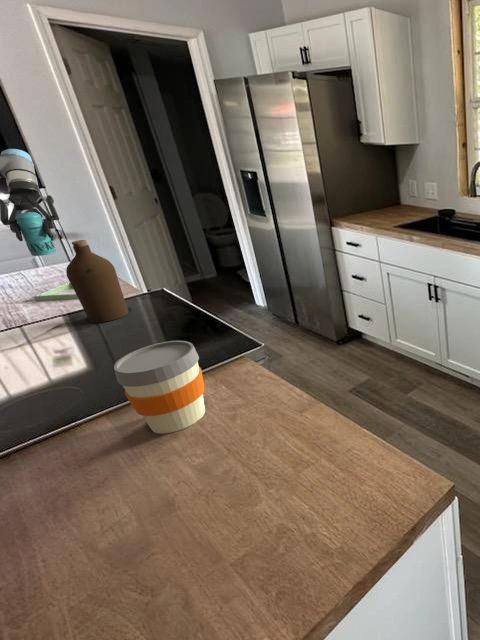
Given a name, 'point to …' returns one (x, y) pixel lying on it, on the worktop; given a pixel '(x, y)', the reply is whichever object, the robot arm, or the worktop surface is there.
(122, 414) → the worktop surface
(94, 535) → the worktop surface
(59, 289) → the back pad
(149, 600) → the worktop surface
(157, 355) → the reusable coffee cup
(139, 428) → the worktop surface
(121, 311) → the brown jug bottle
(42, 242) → the beverage bottle
